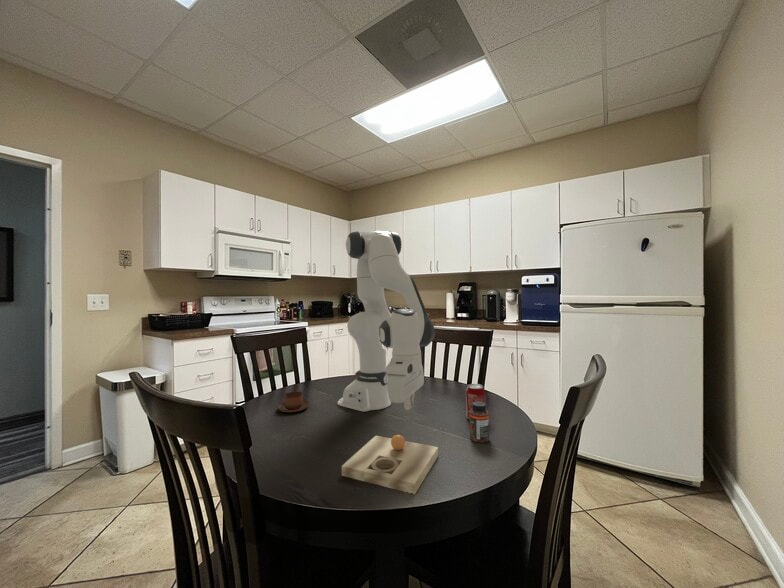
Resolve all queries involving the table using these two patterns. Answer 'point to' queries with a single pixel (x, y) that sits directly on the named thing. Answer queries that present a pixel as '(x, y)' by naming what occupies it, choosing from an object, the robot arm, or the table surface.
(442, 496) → the table surface
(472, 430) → the supplement bottle
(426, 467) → the light wooden flat slab
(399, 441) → the ball
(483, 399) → the soda can
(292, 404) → the cup and saucer
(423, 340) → the robot arm
